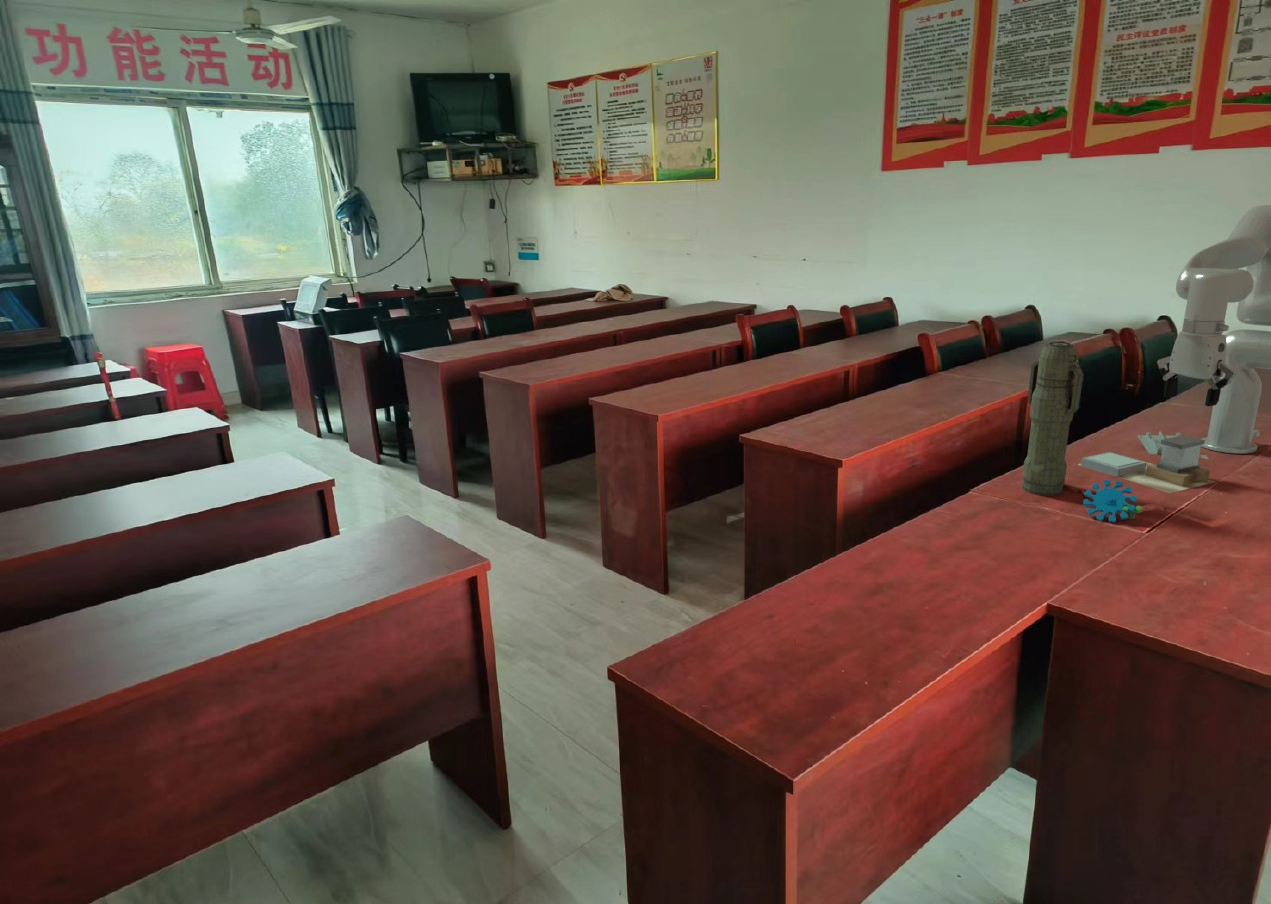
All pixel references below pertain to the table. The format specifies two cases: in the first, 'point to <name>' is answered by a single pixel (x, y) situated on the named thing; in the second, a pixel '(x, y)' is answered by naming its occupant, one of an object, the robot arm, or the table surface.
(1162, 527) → the table surface
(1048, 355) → the thermos
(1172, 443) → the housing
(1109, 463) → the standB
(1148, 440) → the metal bracket
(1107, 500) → the gear
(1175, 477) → the stand
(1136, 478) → the board
